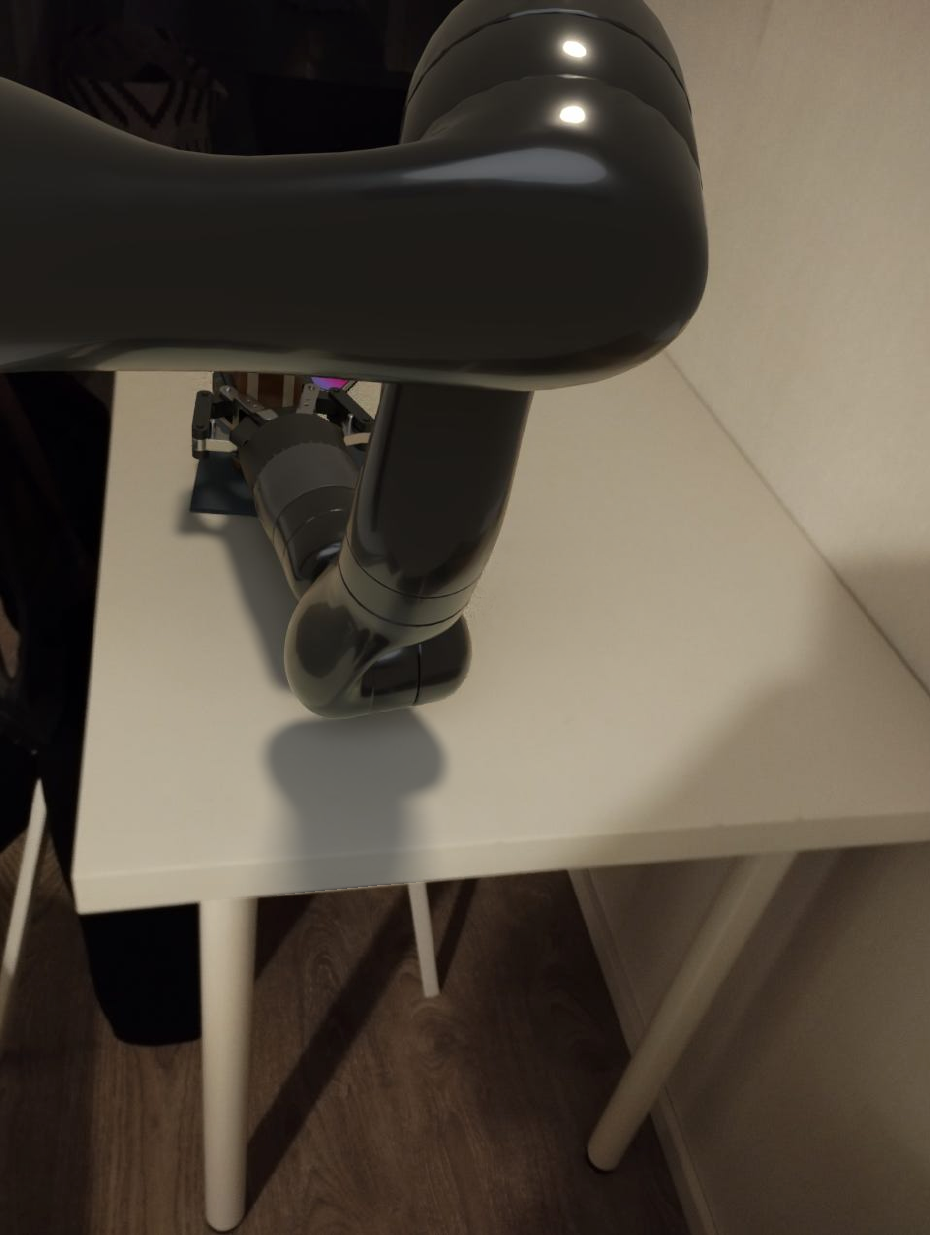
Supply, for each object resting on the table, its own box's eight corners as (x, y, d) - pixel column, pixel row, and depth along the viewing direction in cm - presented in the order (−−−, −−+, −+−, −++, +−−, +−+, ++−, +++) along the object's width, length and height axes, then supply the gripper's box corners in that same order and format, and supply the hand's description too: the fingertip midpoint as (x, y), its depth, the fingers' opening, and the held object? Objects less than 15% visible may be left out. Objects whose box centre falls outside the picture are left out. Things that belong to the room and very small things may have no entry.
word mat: (189, 511, 76) (189, 507, 76) (207, 420, 87) (207, 416, 87) (444, 531, 80) (445, 527, 80) (431, 441, 90) (432, 437, 90)
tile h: (236, 470, 80) (238, 355, 73) (228, 448, 82) (230, 334, 76) (297, 467, 81) (305, 354, 75) (288, 445, 84) (294, 334, 77)
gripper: (414, 440, 68) (347, 331, 80) (202, 450, 63) (164, 331, 75) (401, 528, 73) (340, 413, 85) (203, 544, 68) (167, 419, 79)
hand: (258, 375), depth 80 cm, fingers closed on tile h, 5 cm apart
